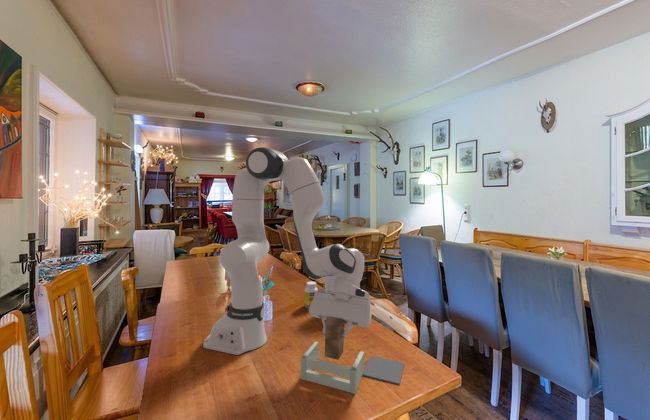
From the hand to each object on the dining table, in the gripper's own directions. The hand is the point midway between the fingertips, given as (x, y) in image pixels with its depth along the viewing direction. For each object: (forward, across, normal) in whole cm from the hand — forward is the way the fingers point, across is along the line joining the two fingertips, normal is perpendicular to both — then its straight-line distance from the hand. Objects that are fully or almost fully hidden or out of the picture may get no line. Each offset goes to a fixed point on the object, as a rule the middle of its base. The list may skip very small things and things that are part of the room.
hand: (333, 335), depth 88 cm
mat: (+3, +14, +14) cm, 20 cm away
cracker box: (-23, -13, +40) cm, 48 cm away
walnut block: (+4, 0, +5) cm, 6 cm away
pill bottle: (-23, -28, +41) cm, 54 cm away
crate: (+9, +1, +7) cm, 12 cm away
